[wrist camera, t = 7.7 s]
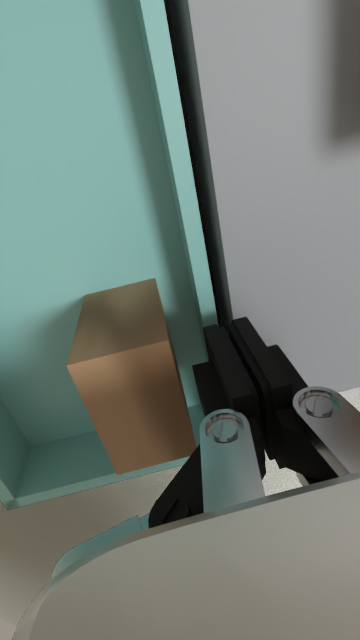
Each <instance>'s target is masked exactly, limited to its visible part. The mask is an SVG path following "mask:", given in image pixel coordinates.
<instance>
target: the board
mask: <svg viewBox="0 0 360 640" xmlns="http://www.w3.org/2000/svg"><path fill="white" fill-rule="evenodd" d="M168 4H169V10H170V16H171V22H172V28H173V34H174V40H175V46H176V52H177V59H178V65H179V71H180V77H181V83H182V89H183V95H184V101H185V107H186V113H187V120H188V126H189V132H190V138H191V144H192V150H193V156H194V162H195V168H196V175H197V181H198V187H199V193H200V199H201V205H202V211H203V217H204V223H205V229H206V236H207V242H208V248H209V254H210V260H211V266H212V272H213V278H214V284H215V290H216V297H217V303H218V309H219V315H220V321H221V326H224V328H225V330H226V332H227V334H228V329H227V325H229V324H232V320H234V319H238V318H242V317H247V318H248V319H249V321H250V322H251V324H252V325H253V327H254V328H255V330H256V331H257V333H258V334H259V336H260V337H261V338H262V340H263V341H264V343H265V344H266V346H267V347H268V346H272V345H278V346H279V347H280V348H281V350H282V351H283V352H284V354H285V355H286V357H287V358H288V359H289V361H290V362H291V363H292V365H293V366H294V367H295V369H296V370H297V372H298V373H299V374H300V376H301V377H302V378H303V380H304V381H305V382H306V384H307V385H308V387H311V386H320V387H326V388H329V389H332V390H334V391H336V392H337V393H338V392H342V391H346V390H349V389H353V388H357V387H360V0H168Z"/></svg>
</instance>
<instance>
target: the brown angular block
mask: <svg viewBox="0 0 360 640" xmlns="http://www.w3.org/2000/svg"><path fill="white" fill-rule="evenodd" d="M66 366H67V368H68V370H69V372H70V375H71V377H72V379H73V381H74V383H75V385H76V388H77V390H78V392H79V394H80V396H81V398H82V400H83V403H84V405H85V407H86V409H87V411H88V413H89V416H90V418H91V420H92V422H93V424H94V426H95V428H96V431H97V433H98V435H99V437H100V439H101V441H102V444H103V446H104V448H105V450H106V452H107V454H108V457H109V459H110V461H111V463H112V465H113V467H114V469H115V472H116V474H117V475H120V474H123V473H127V472H131V471H135V470H139V469H143V468H147V467H150V466H154V465H158V464H162V463H166V462H170V461H174V460H177V459H181V458H185V457H189V456H191V455H192V453H193V452H194V451H195V449H196V448H197V446H196V442H195V438H194V433H193V429H192V424H191V420H190V416H189V411H188V407H187V402H186V398H185V394H184V389H183V385H182V380H181V376H180V372H179V368H178V364H177V360H176V356H175V352H174V348H173V345H172V341H171V337H170V333H169V329H168V325H167V321H166V317H165V314H164V310H163V306H162V302H161V298H160V294H159V290H158V287H157V283H156V279H155V278H152V279H148V280H144V281H140V282H136V283H132V284H128V285H124V286H120V287H116V288H112V289H107V290H103V291H99V292H95V293H91V294H87V295H85V297H84V300H83V304H82V308H81V312H80V316H79V320H78V323H77V327H76V331H75V335H74V339H73V342H72V346H71V350H70V354H69V358H68V362H67V365H66Z"/></svg>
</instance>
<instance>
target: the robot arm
mask: <svg viewBox="0 0 360 640" xmlns="http://www.w3.org/2000/svg"><path fill="white" fill-rule="evenodd" d="M227 329H228V334H227V332H226V330H225V328H224V326H221V327H218V325H217V324H214V325H210V326H205V327H203V333H204V338H205V344H206V349H207V354H208V359H209V361H208V362H204V363H200V364H196V365H192V369H193V373H194V378H195V382H196V386H197V390H198V394H199V398H200V402H201V405H202V409H203V412H204V416H205V418H204V419H203V421H202V423H201V424H200V430H199V431H200V444H199V445H198V447H197V448H196V449H195V451H194V452H193V453H192V455H191V456H190V457H189V458H188V460H187V461H186V462H185V464H184V465H183V466H182V468H181V469H180V470H179V472H178V473H177V474H176V476H175V477H174V478H173V480H172V481H171V482H170V484H169V485H168V486H167V488H166V489H165V490H164V492H163V493H162V494H161V496H160V497H159V498H158V500H157V501H156V502H155V504H154V505H153V507H152V509H151V511H150V513H149V514H147V515H145V516H143V517H141V518H139V517H138V515H136V516H134V517H132V518H130V519H128V520H126V521H124V522H122V523H120V524H119V525H117V526H115V527H113V528H111V529H109V530H107V531H105V532H103V533H101V534H99V535H97V536H95V537H93V538H91V539H89V540H87V541H85V542H83V543H81V544H79V545H77V546H76V547H74V548H72V549H71V550H69V551H68V552H66V553H65V554H64V555H63V556H62V557H61V558H60V560H59V561H58V562H57V563H56V566H55V568H54V570H53V572H52V575H51V581H50V582H49V583H48V584H47V585H46V586H45V587H44V588H43V589H42V590H41V591H40V592H39V593H38V594H37V595H36V596H35V598H34V599H33V600H32V601H31V603H30V604H29V606H28V607H27V609H26V610H25V612H24V614H23V616H22V617H21V619H20V621H19V623H18V626H17V628H16V631H15V633H14V635H13V638H12V640H360V412H359V411H358V410H357V409H356V408H355V407H353V406H352V405H351V404H350V403H349V402H348V401H347V400H346V399H344V398H343V397H342V396H341V395H340V394H339V393H337V392H336V391H334V390H332V389H329V388H326V387H320V386H311V387H308V385H307V384H306V382H305V381H304V380H303V378H302V377H301V376H300V374H299V373H298V372H297V370H296V369H295V367H294V366H293V365H292V363H291V362H290V361H289V359H288V358H287V357H286V355H285V354H284V352H283V351H282V350H281V348H280V347H279V346H278V345H272V346H268V347H267V346H266V344H265V343H264V341H263V340H262V338H261V337H260V336H259V334H258V333H257V331H256V330H255V328H254V327H253V325H252V324H251V322H250V321H249V319H248V318H247V317H242V318H238V319H234V320H232V324H229V325H227ZM264 449H265V451H266V453H267V456H268V458H269V459H270V460H273V459H275V460H276V462H277V464H278V466H279V469H281V468H285V467H286V468H288V469H291V470H293V471H295V472H296V474H297V477H298V479H299V481H300V483H301V484H302V486H303V487H299V488H296V489H292V490H288V491H284V492H280V493H277V494H273V495H269V496H265V493H264V489H263V484H262V479H263V477H264V476H265V474H266V467H265V452H264Z"/></svg>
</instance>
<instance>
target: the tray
mask: <svg viewBox="0 0 360 640" xmlns="http://www.w3.org/2000/svg"><path fill="white" fill-rule="evenodd" d="M152 278H155V279H156V283H157V287H158V290H159V294H160V298H161V302H162V306H163V310H164V314H165V317H166V321H167V325H168V329H169V333H170V337H171V341H172V345H173V348H174V352H175V356H176V360H177V364H178V368H179V372H180V376H181V380H182V385H183V389H184V394H185V398H186V402H187V407H188V411H189V416H190V420H191V424H192V429H193V433H194V438H195V442H196V446H197V447H198V445H199V444H200V431H199V430H200V424H201V423H202V421H203V419H204V418H205V416H204V412H203V409H202V405H201V402H200V398H199V394H198V390H197V386H196V382H195V378H194V373H193V369H192V365H196V364H200V363H204V362H208V361H209V359H208V354H207V349H206V344H205V338H204V333H203V327H205V326H210V325H214V324H217V325H218V319H217V313H216V307H215V302H214V296H213V290H212V284H211V278H210V272H209V266H208V260H207V254H206V248H205V242H204V236H203V230H202V224H201V218H200V212H199V207H198V201H197V195H196V189H195V183H194V177H193V171H192V165H191V159H190V153H189V147H188V141H187V135H186V129H185V123H184V117H183V112H182V106H181V100H180V94H179V88H178V82H177V76H176V70H175V64H174V58H173V52H172V46H171V40H170V34H169V28H168V23H167V17H166V11H165V5H164V0H0V501H1V502H2V504H3V505H4V506H5V508H6V509H7V510H10V509H14V508H18V507H22V506H26V505H29V504H33V503H37V502H41V501H45V500H49V499H53V498H57V497H61V496H64V495H68V494H72V493H76V492H80V491H84V490H88V489H92V488H95V487H99V486H103V485H107V484H111V483H115V482H119V481H123V480H126V479H130V478H134V477H138V476H142V475H146V474H150V473H154V472H158V471H161V470H165V469H169V468H173V467H177V466H181V465H184V464H185V462H186V461H187V460H188V458H189V457H190V456H189V457H185V458H181V459H177V460H174V461H170V462H166V463H162V464H158V465H154V466H150V467H147V468H143V469H139V470H135V471H131V472H127V473H123V474H120V475H117V474H116V472H115V469H114V467H113V465H112V463H111V461H110V459H109V457H108V454H107V452H106V450H105V448H104V446H103V444H102V441H101V439H100V437H99V435H98V433H97V431H96V428H95V426H94V424H93V422H92V420H91V418H90V416H89V413H88V411H87V409H86V407H85V405H84V403H83V400H82V398H81V396H80V394H79V392H78V390H77V388H76V385H75V383H74V381H73V379H72V377H71V375H70V372H69V370H68V368H67V366H66V365H67V362H68V358H69V354H70V350H71V346H72V342H73V339H74V335H75V331H76V327H77V323H78V320H79V316H80V312H81V308H82V304H83V300H84V297H85V295H87V294H91V293H95V292H99V291H103V290H107V289H112V288H116V287H120V286H124V285H128V284H132V283H136V282H140V281H144V280H148V279H152ZM218 327H219V325H218Z"/></svg>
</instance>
